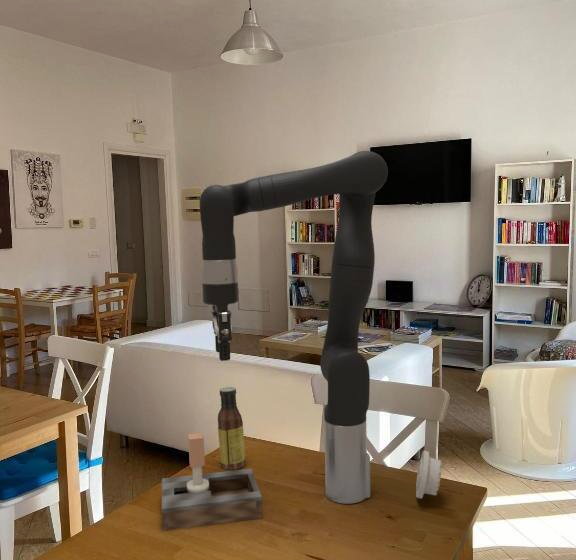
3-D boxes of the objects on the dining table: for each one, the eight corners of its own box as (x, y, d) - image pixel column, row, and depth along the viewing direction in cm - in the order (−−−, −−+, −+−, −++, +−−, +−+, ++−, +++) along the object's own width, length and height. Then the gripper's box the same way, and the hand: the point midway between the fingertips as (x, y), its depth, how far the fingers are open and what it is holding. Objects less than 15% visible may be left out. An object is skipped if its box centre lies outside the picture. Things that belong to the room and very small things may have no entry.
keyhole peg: (208, 482, 123) (206, 431, 122) (209, 492, 118) (207, 438, 117) (186, 485, 122) (184, 433, 121) (187, 495, 117) (185, 441, 116)
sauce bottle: (248, 462, 144) (246, 385, 142) (241, 472, 138) (238, 392, 136) (224, 460, 146) (221, 384, 144) (215, 470, 140) (212, 391, 138)
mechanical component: (414, 484, 129) (422, 443, 128) (434, 488, 128) (442, 447, 127) (414, 505, 120) (422, 461, 118) (435, 510, 119) (444, 466, 117)
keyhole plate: (252, 487, 130) (251, 468, 130) (262, 518, 116) (261, 496, 116) (162, 498, 126) (161, 478, 125) (162, 531, 112) (161, 509, 112)
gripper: (242, 283, 114) (244, 362, 116) (233, 277, 128) (236, 348, 130) (204, 284, 113) (207, 364, 114) (200, 278, 126) (203, 350, 128)
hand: (222, 355), depth 122 cm, fingers open, 8 cm apart
